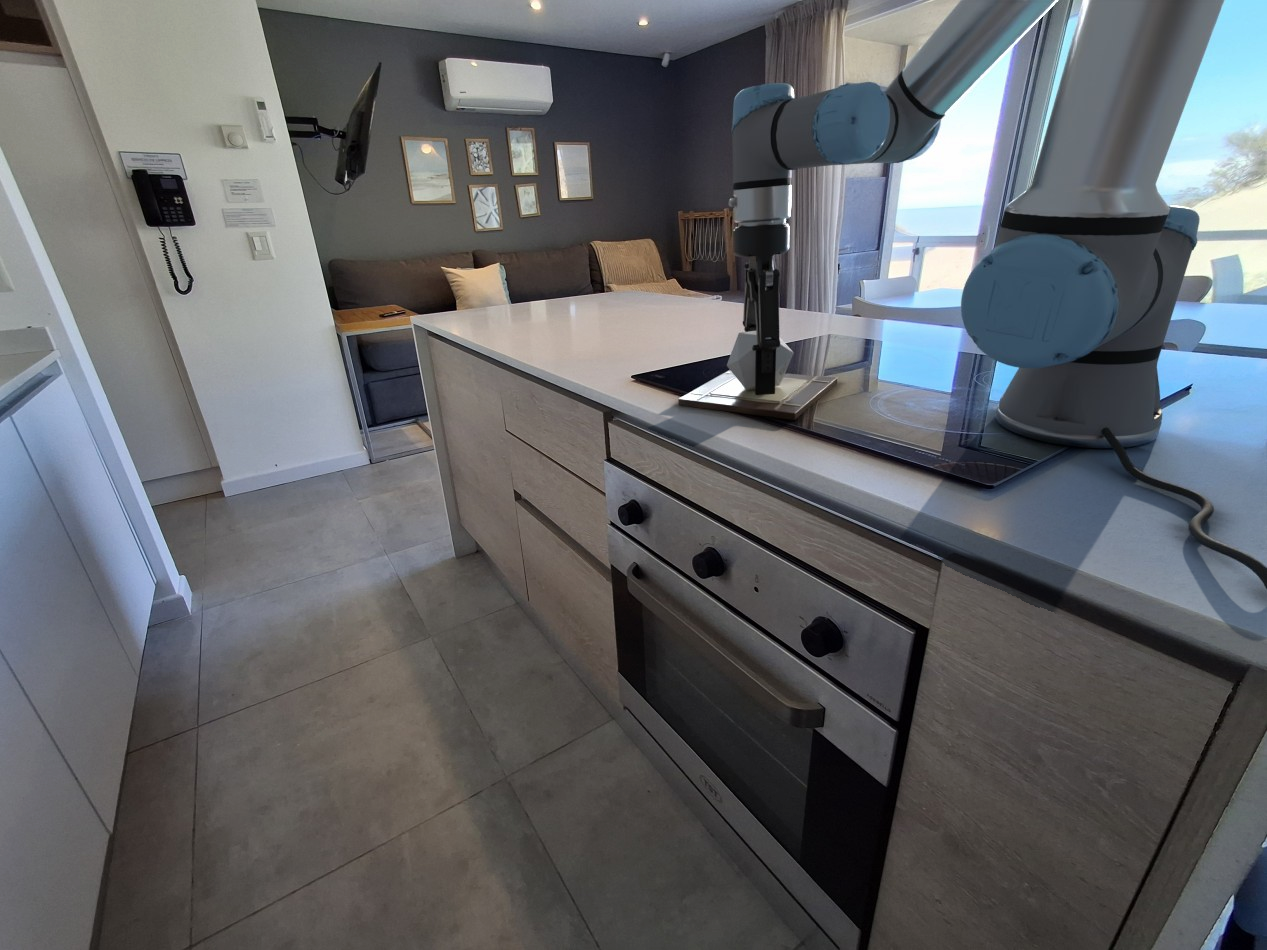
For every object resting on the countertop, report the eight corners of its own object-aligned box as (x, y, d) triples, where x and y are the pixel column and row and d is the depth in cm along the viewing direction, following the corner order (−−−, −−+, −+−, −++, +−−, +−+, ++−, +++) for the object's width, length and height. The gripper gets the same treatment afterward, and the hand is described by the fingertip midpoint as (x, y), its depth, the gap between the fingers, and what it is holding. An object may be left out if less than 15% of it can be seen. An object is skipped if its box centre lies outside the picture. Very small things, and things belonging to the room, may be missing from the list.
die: (784, 400, 81) (811, 335, 81) (729, 374, 80) (756, 308, 80) (761, 404, 90) (786, 346, 90) (711, 381, 88) (736, 321, 88)
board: (837, 383, 89) (837, 376, 88) (794, 420, 76) (795, 411, 75) (731, 374, 99) (731, 367, 98) (678, 405, 85) (678, 397, 85)
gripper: (724, 223, 87) (726, 367, 97) (745, 228, 67) (744, 408, 77) (773, 219, 87) (770, 364, 96) (809, 222, 67) (801, 405, 76)
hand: (759, 383), depth 86 cm, fingers closed on die, 9 cm apart
